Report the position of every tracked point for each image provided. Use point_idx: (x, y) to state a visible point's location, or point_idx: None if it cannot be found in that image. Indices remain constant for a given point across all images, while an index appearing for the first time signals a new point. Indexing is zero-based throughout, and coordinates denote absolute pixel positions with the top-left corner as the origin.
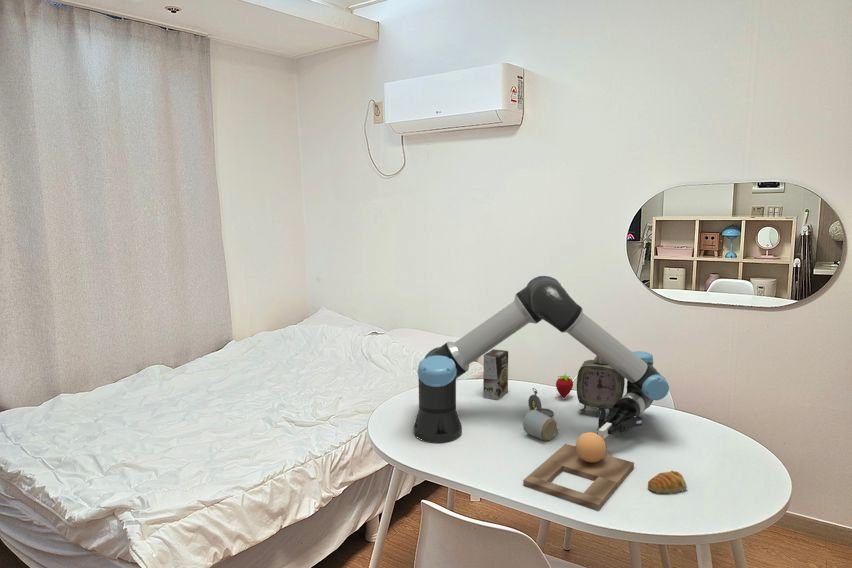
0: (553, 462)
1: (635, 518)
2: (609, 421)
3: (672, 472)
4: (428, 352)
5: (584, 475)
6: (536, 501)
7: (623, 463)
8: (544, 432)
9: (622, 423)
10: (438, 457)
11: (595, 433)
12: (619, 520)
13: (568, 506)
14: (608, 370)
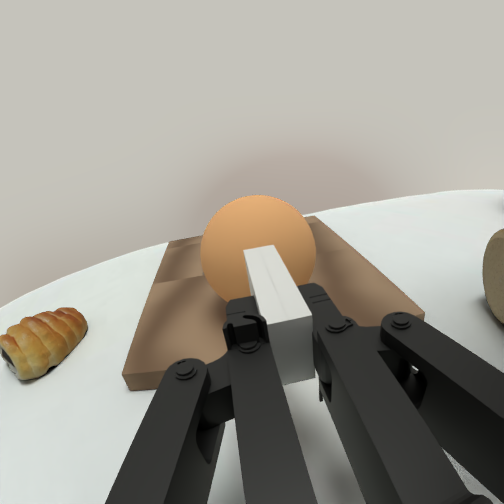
0: (333, 252)
1: (113, 268)
2: (333, 371)
3: (12, 339)
4: None
5: None
6: None
7: (157, 349)
8: (483, 261)
9: (183, 392)
10: (457, 202)
11: (242, 207)
12: (136, 256)
13: None
14: None
